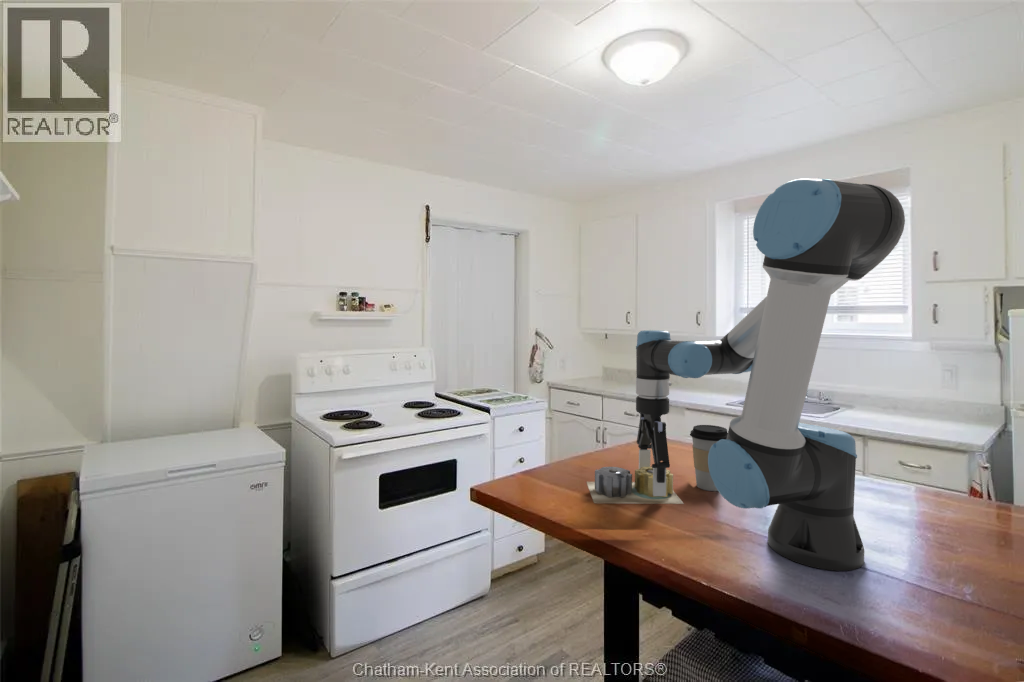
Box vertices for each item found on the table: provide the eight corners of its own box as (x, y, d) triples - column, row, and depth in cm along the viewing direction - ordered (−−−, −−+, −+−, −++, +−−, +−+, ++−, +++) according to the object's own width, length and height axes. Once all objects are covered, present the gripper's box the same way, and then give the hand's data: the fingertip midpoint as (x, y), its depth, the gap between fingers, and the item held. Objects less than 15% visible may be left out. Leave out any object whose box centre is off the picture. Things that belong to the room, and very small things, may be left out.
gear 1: (634, 498, 112) (635, 477, 112) (598, 498, 112) (598, 476, 112) (627, 485, 120) (627, 465, 120) (593, 485, 121) (593, 465, 120)
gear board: (684, 510, 109) (684, 480, 109) (594, 509, 110) (594, 480, 109) (666, 488, 123) (666, 461, 123) (586, 487, 123) (586, 461, 123)
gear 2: (676, 498, 112) (677, 477, 111) (639, 498, 112) (640, 476, 112) (666, 485, 120) (666, 465, 120) (631, 485, 120) (632, 465, 120)
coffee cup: (723, 496, 117) (725, 434, 116) (683, 488, 123) (684, 429, 122) (733, 485, 125) (734, 427, 124) (695, 478, 130) (696, 422, 129)
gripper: (686, 406, 102) (684, 505, 103) (654, 387, 127) (653, 468, 128) (650, 406, 102) (648, 505, 104) (625, 387, 127) (624, 468, 128)
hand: (651, 485), depth 116 cm, fingers open, 13 cm apart
